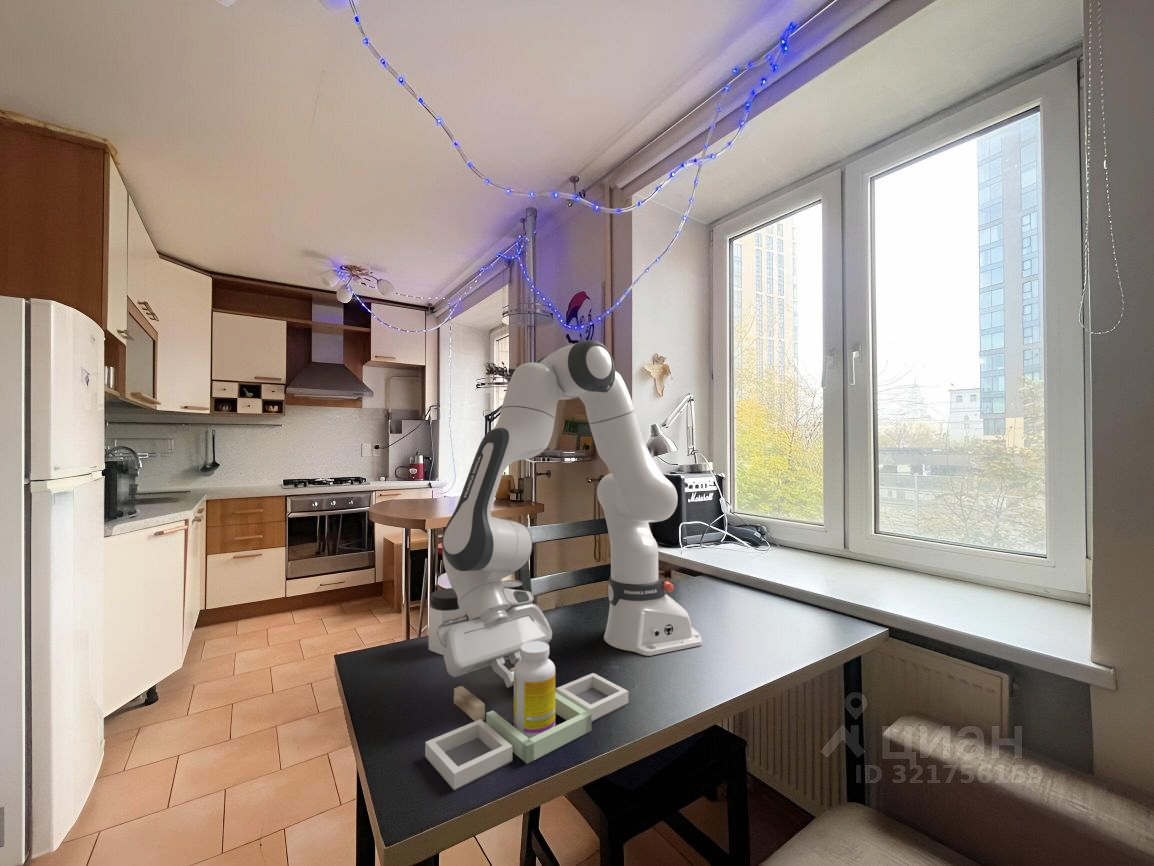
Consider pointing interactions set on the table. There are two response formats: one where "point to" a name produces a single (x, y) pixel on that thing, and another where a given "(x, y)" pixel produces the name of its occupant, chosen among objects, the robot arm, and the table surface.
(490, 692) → the table surface
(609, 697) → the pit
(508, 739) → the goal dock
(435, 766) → the tray
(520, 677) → the supplement bottle
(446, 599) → the jar
